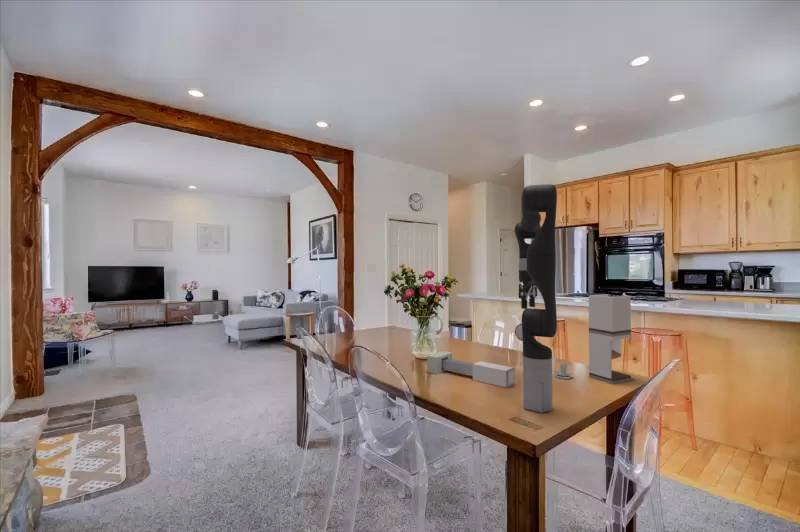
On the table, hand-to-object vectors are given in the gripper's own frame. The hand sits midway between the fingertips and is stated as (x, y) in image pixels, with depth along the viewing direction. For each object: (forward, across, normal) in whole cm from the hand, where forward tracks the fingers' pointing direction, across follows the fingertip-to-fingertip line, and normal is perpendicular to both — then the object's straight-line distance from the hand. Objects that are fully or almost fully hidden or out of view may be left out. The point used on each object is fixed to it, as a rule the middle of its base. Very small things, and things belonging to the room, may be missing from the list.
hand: (528, 307), depth 154 cm
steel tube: (+29, -13, +25) cm, 40 cm away
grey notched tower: (+30, +22, -26) cm, 46 cm away
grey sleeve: (+30, -13, +10) cm, 34 cm away
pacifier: (+30, +12, -10) cm, 34 cm away
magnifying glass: (+30, +20, +10) cm, 38 cm away
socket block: (+30, -13, +36) cm, 49 cm away
